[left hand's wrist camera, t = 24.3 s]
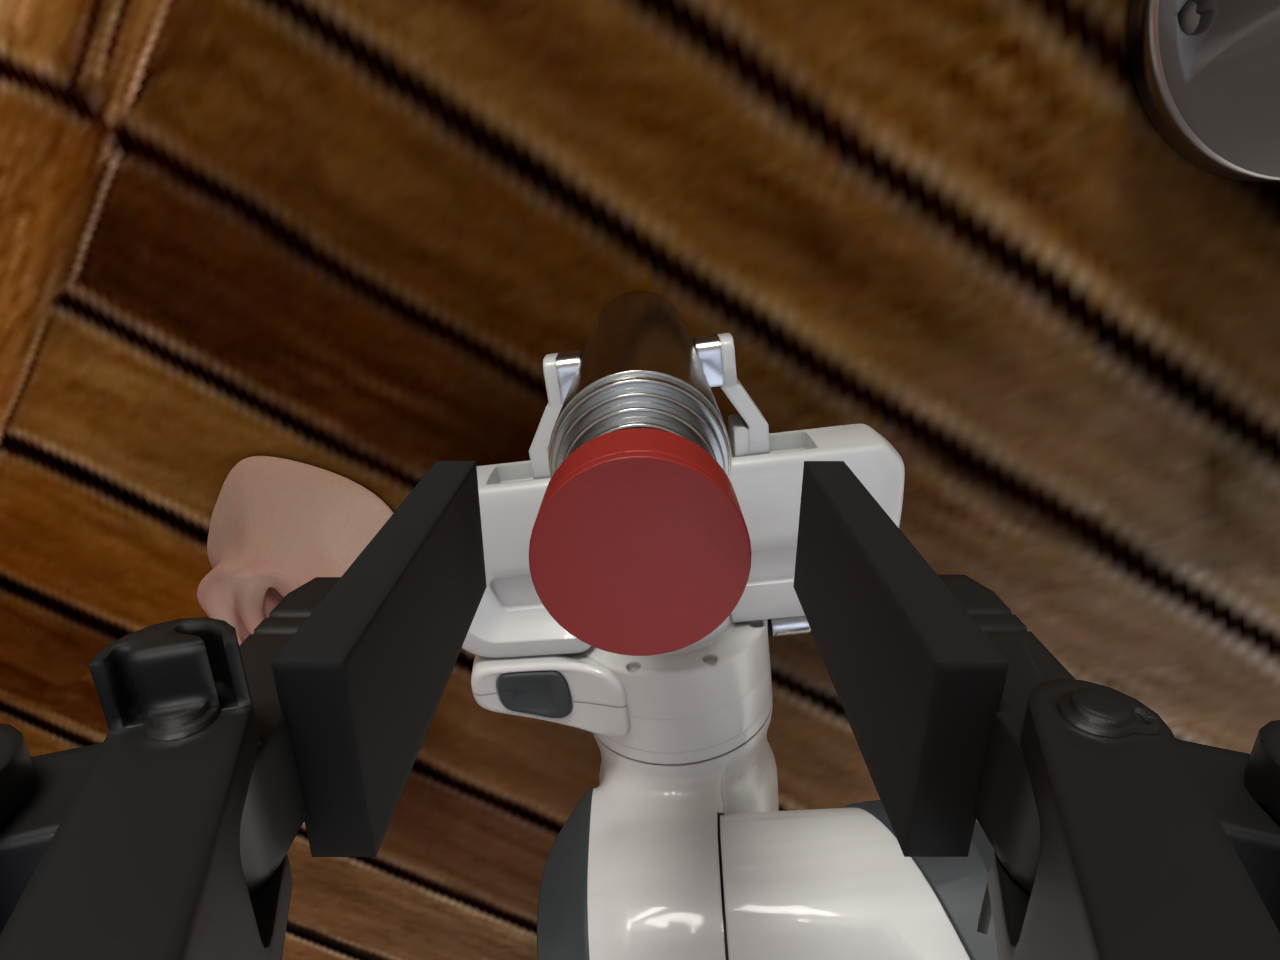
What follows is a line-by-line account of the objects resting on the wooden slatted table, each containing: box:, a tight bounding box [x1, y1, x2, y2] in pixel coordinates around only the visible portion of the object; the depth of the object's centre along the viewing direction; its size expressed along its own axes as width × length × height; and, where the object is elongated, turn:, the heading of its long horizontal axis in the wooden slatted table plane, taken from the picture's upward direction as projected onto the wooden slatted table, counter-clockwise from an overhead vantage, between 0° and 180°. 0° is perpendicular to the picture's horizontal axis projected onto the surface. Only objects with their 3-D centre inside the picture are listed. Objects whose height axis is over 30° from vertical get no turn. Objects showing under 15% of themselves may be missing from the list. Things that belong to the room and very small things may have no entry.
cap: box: [529, 428, 751, 656], centre depth 13 cm, size 4×4×2 cm
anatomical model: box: [197, 456, 393, 646], centre depth 37 cm, size 13×4×12 cm
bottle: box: [548, 292, 732, 478], centre depth 24 cm, size 5×5×23 cm
